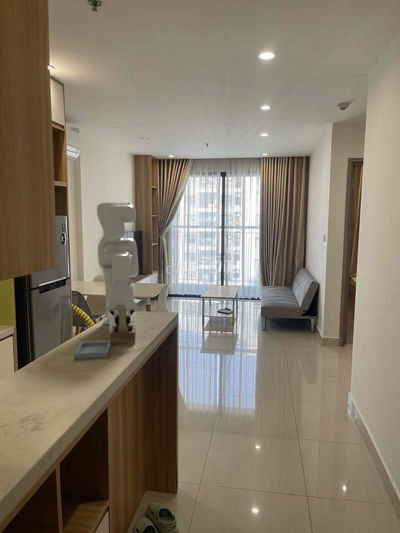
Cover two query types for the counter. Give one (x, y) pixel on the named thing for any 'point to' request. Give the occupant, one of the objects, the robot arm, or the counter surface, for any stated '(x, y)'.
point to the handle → (122, 319)
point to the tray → (93, 350)
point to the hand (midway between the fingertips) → (122, 324)
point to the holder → (123, 336)
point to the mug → (112, 320)
